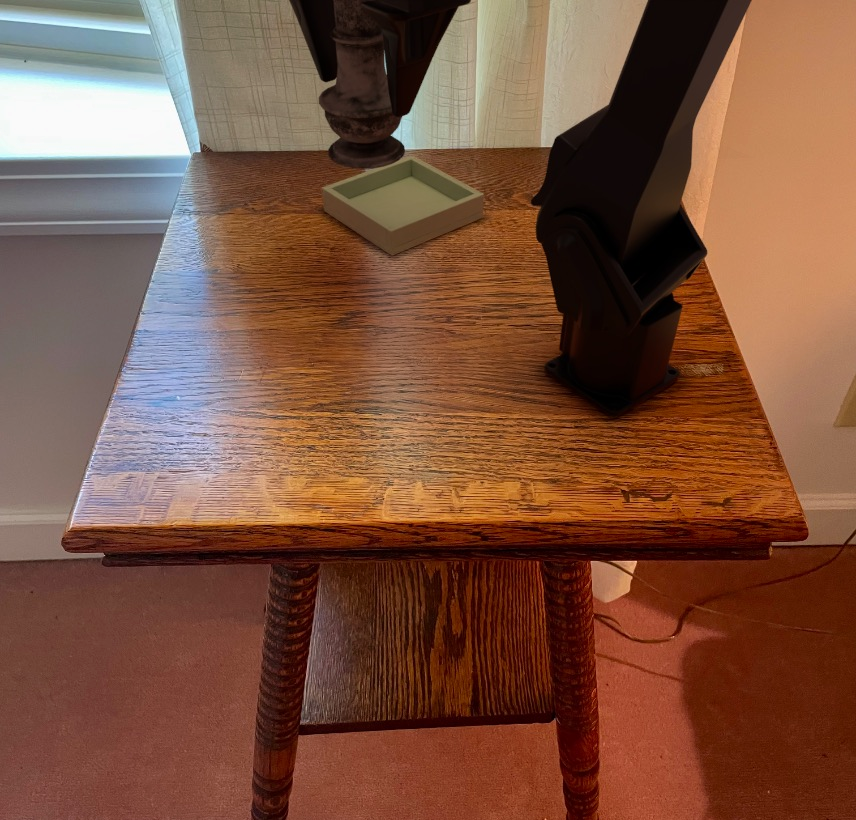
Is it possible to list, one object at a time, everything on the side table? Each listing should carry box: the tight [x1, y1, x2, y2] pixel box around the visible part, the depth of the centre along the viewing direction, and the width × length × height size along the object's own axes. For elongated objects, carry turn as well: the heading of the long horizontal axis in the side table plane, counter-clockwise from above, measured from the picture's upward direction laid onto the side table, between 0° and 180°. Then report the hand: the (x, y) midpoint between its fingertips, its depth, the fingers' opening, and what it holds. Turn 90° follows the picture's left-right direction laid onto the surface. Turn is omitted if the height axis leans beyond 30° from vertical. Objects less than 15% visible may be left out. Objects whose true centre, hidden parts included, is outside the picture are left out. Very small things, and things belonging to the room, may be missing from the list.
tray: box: [321, 155, 485, 256], centre depth 69 cm, size 10×10×2 cm
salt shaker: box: [318, 0, 406, 170], centre depth 52 cm, size 6×6×12 cm
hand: (363, 97), depth 54 cm, fingers closed on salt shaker, 7 cm apart
